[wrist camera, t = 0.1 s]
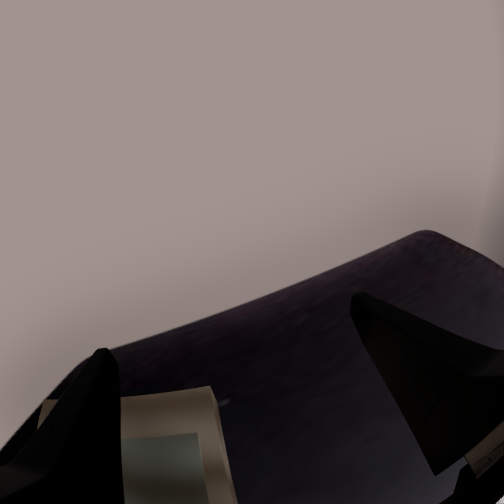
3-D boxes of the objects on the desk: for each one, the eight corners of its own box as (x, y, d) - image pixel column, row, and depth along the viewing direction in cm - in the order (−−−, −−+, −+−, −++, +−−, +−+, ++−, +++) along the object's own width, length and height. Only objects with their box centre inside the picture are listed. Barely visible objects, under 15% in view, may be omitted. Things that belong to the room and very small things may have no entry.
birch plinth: (253, 562, 10) (247, 565, 9) (49, 544, 8) (25, 537, 6) (216, 402, 24) (209, 384, 22) (59, 414, 22) (42, 398, 20)
